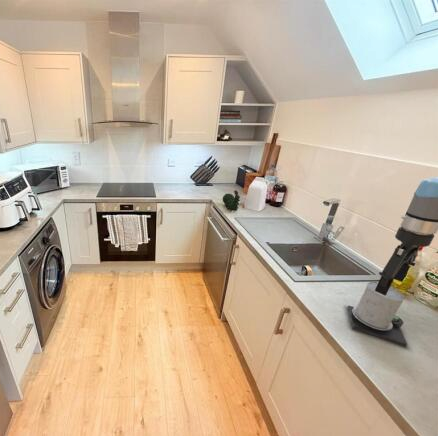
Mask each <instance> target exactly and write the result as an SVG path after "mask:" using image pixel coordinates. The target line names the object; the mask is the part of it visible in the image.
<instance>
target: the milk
mask: <svg viewBox="0 0 438 436" xmlns="http://www.w3.org/2000/svg"><path fill="white" fill-rule="evenodd" d="M267 192H268V184H267V183H266V179H265V177H261V176H256V177H255V178H254V179H253V180H252V182H251V183H250V184H249V186H248V189H247V193H246V198H245V202H244V206H243V209H246V210H250V211H254V212H260V211H262V210H264V209H265V206H266V198H267Z"/></svg>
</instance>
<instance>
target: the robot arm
mask: <svg viewBox="0 0 438 436" xmlns="http://www.w3.org/2000/svg"><path fill="white" fill-rule="evenodd" d="M400 217H401V219H402V221H401V223H400V226H399V227H398V229H397V231H396V233H395V235H394V237H395V239H396V240H397V241H398V242H401V243H400V244H398V245H397V246H396V248H394V251H393V253H392V255H391V257H390V258H389V259H388V261H387V263H386V265H385V266H384V268H383V269H382V271H379V272H378V275H380V279H379V280H378V281H377V282H378V285H377V287H376V289H375V291H376V292H378V293H381V294H383V295H386V294H387V292H388V290H389V288H390V286H392V284H393V282H394V280H395V281H398V282H399V283H403V282H404V280H405V278H406V276H407V274H408V272H409V270H410V269H411V266H412V267H415V266H416V263H415V262H416V259H417V255H418V253H419V251H420V247H421V248H426V247H429V246H430V245H431V243H432V242H433V240H434V238H435V234H437V233H438V176H435V177H433V178H426V179H423V180H422V181H421V182H420V183H419V184H418V186H417V188H416V190H415V191H414V193H413V196H412V198H411V201H410V203H409V206H408V207H407V210H406V212H405V214H404V215H401V216H400Z"/></svg>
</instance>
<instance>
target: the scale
mask: <svg viewBox="0 0 438 436" xmlns="http://www.w3.org/2000/svg"><path fill="white" fill-rule="evenodd" d="M354 307H355V306H351V305H347V313H348V315H349V316H348V317H349V321H350V326H351V329H352V330H354V331H357V332H358V333H359V332H360V333H363V334H365V335H368V336H372V337H375V338H378V339H380V340H384V341H386V342H389V343H392V344H395V345H398V346H401V347H403V348H406V347H407V345H408V343H407V341H406V338H405V336H404V334H403V332H402V329H401V328H402V326H403V325H404V321H403V319H402V318H401V317H399V319H398V321H397V322H395V321H391V323H392V325H393V327H392V329H391V330H387V331H383V330H378V329H374V328H372V327H369V326H367V325H366V324H364V323H362V322H361V321H359V320H358V319H357V318H356V317H355V316H354V314H353V312H352V310H353V308H354Z"/></svg>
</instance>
